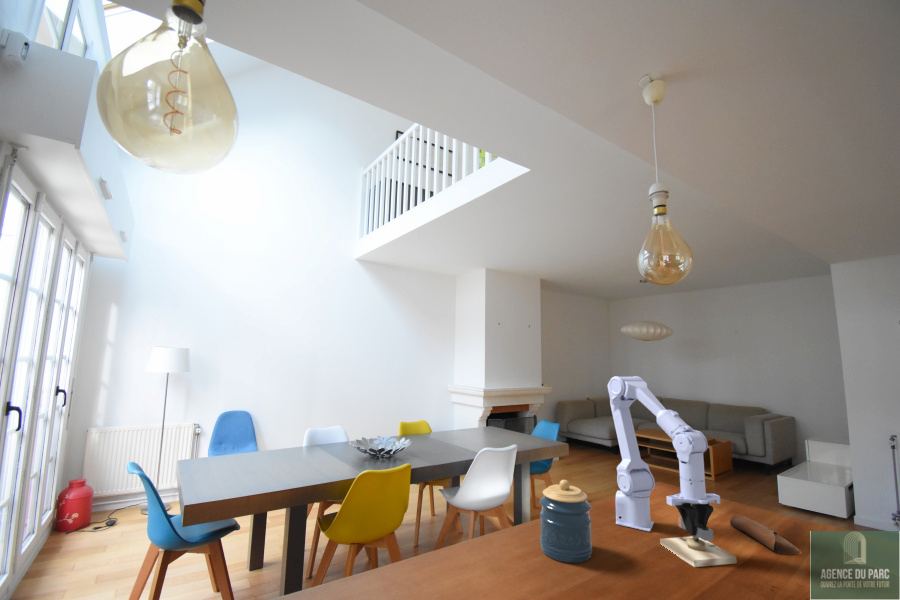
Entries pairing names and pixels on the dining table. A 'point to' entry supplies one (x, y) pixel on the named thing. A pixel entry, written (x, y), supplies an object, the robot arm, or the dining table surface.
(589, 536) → the canister
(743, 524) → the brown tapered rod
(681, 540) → the base plate
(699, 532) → the dark rectangular block
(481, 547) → the dining table surface
